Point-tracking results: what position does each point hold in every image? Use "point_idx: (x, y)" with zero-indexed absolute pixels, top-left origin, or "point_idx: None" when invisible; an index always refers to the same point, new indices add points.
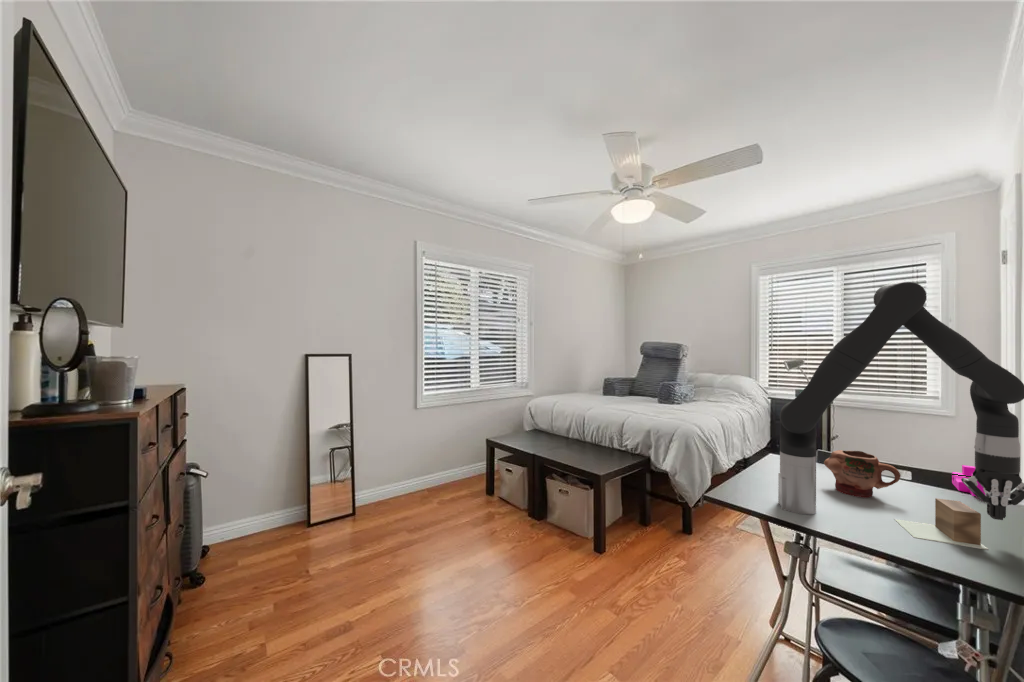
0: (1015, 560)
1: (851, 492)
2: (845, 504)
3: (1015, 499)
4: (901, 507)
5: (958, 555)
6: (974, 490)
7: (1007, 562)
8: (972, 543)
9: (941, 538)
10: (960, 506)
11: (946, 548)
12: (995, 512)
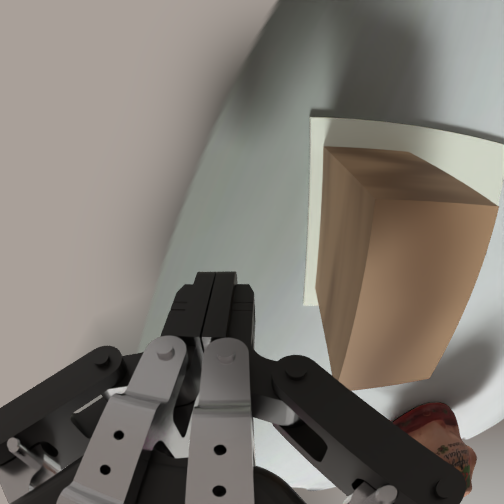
0: (251, 49)
1: (444, 409)
2: (496, 345)
3: (85, 383)
4: (367, 396)
5: (442, 28)
6: (389, 431)
7: (296, 14)
8: (351, 147)
9: (437, 164)
10: (405, 311)
11: (455, 81)
12: (229, 298)
